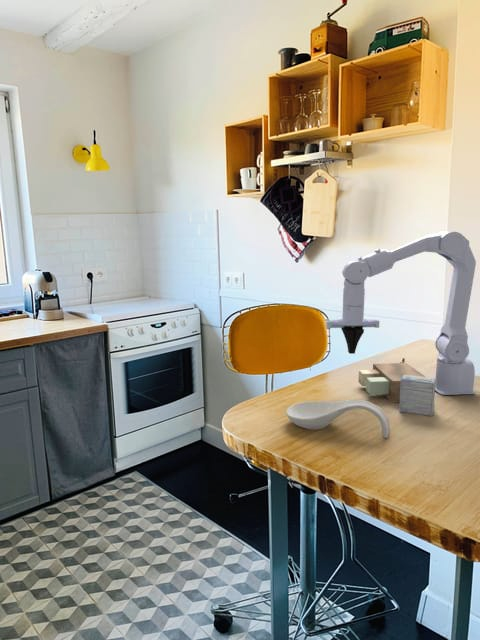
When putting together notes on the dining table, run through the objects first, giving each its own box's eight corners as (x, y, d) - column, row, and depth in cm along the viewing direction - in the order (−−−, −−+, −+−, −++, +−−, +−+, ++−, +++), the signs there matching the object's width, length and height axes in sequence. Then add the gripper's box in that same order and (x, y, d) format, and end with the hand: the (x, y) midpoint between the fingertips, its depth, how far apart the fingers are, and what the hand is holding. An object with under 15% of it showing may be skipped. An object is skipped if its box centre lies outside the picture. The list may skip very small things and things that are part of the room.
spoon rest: (279, 431, 114) (280, 401, 112) (293, 412, 125) (293, 385, 123) (386, 446, 105) (388, 414, 104) (391, 425, 116) (392, 396, 115)
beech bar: (389, 381, 143) (389, 369, 142) (393, 385, 140) (394, 372, 139) (358, 382, 143) (358, 370, 142) (362, 386, 139) (362, 373, 138)
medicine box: (433, 410, 124) (436, 377, 123) (432, 417, 120) (434, 382, 119) (401, 406, 127) (402, 373, 126) (398, 412, 123) (400, 378, 122)
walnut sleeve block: (405, 381, 146) (406, 363, 145) (428, 400, 131) (430, 379, 130) (372, 382, 146) (373, 363, 145) (391, 402, 130) (392, 381, 129)
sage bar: (398, 389, 136) (398, 376, 136) (403, 393, 133) (403, 380, 132) (365, 390, 136) (366, 377, 135) (370, 394, 132) (370, 381, 132)
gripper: (374, 302, 141) (372, 348, 143) (324, 303, 140) (322, 349, 142) (383, 306, 134) (380, 355, 136) (330, 307, 133) (328, 356, 135)
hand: (351, 352), depth 139 cm, fingers closed
